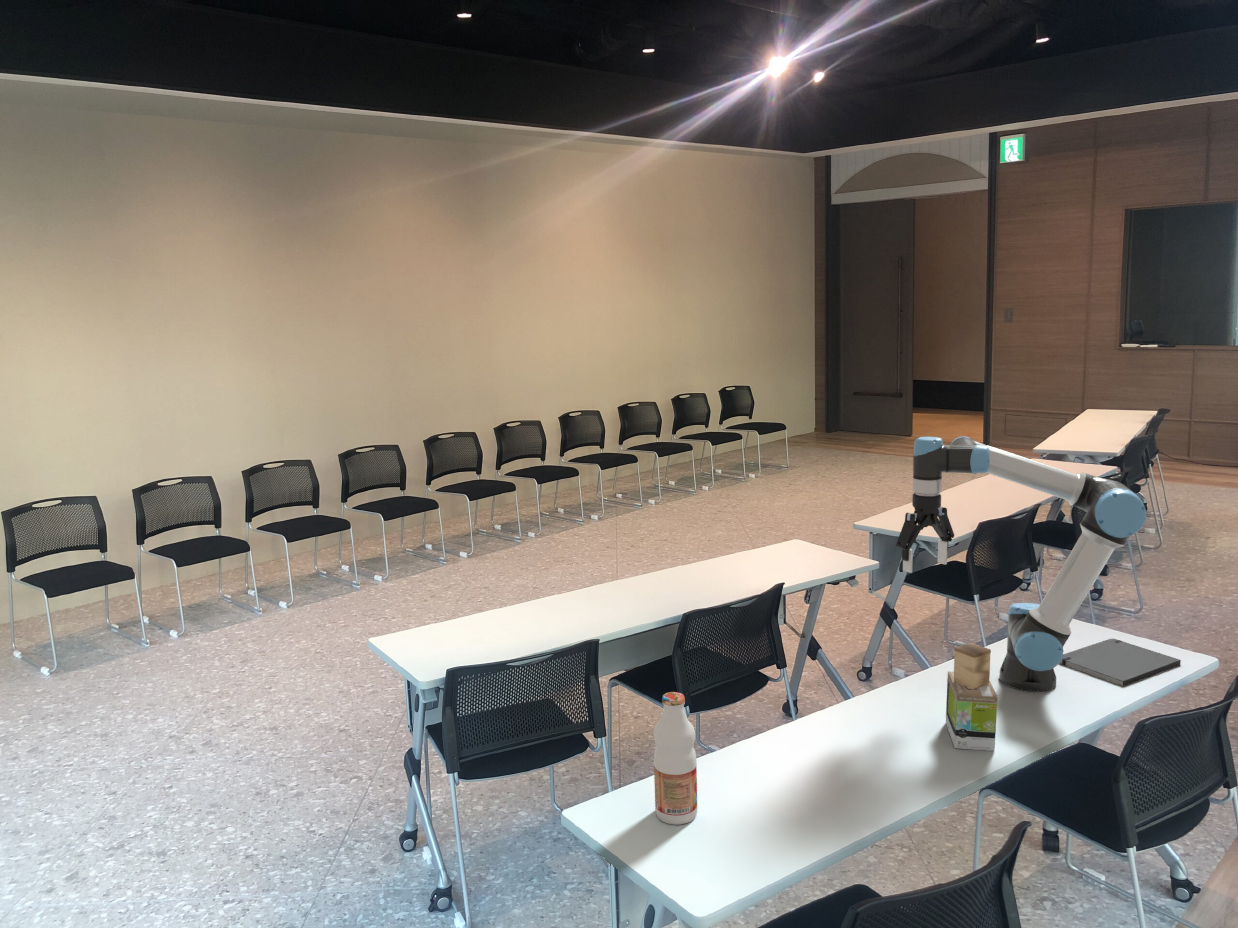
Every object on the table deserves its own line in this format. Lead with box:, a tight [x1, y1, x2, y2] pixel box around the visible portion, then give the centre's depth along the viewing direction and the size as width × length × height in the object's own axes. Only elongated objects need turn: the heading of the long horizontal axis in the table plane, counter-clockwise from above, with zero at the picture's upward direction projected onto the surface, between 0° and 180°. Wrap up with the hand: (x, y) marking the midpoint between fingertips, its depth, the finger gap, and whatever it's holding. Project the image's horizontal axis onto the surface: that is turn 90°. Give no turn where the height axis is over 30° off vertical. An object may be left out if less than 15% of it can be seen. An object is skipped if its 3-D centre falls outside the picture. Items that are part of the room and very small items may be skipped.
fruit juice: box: [653, 691, 698, 826], centre depth 202 cm, size 9×9×28 cm
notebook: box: [1059, 638, 1182, 687], centre depth 277 cm, size 22×2×28 cm
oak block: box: [953, 642, 992, 689], centre depth 232 cm, size 6×6×9 cm
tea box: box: [945, 671, 999, 752], centre depth 234 cm, size 15×10×15 cm
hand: (925, 567), depth 257 cm, fingers open, 13 cm apart
